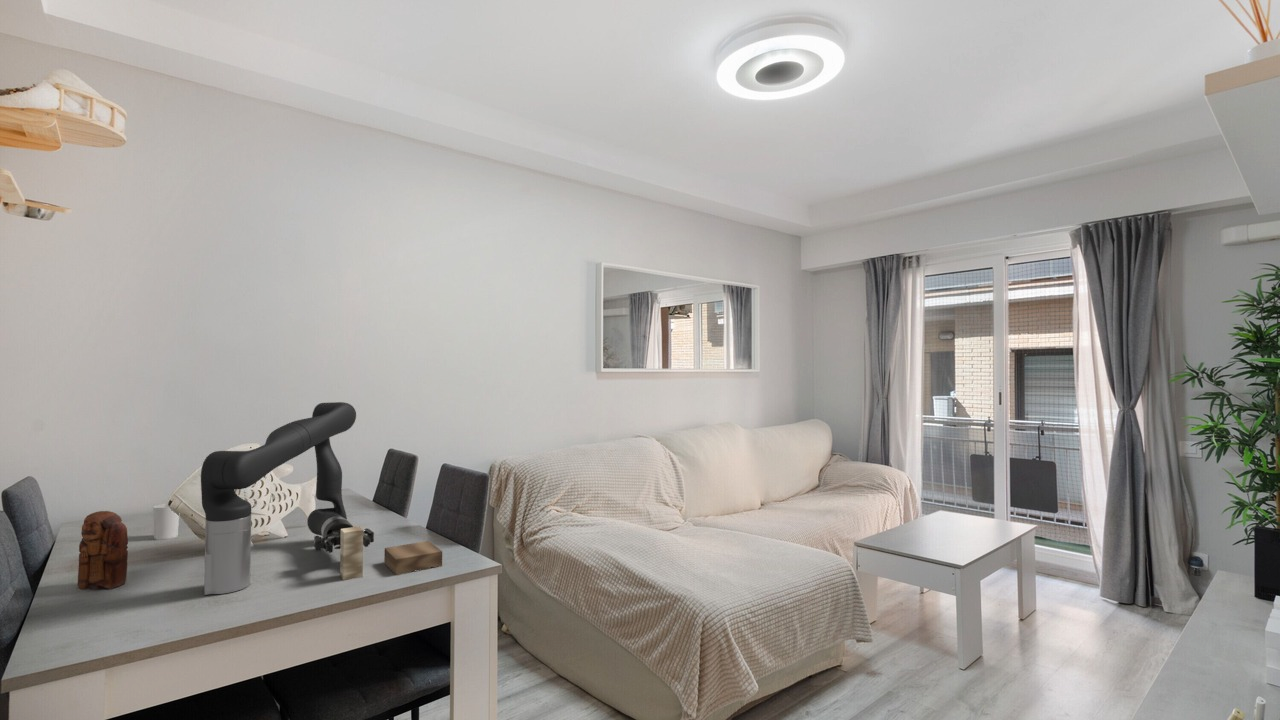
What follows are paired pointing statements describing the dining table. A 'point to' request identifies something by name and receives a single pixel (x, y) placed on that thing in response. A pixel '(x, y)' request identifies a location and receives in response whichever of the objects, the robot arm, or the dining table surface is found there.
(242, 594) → the dining table surface
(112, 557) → the wooden figurine
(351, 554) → the birch pillar
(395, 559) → the walnut plinth
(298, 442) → the robot arm
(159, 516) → the drinking glass
